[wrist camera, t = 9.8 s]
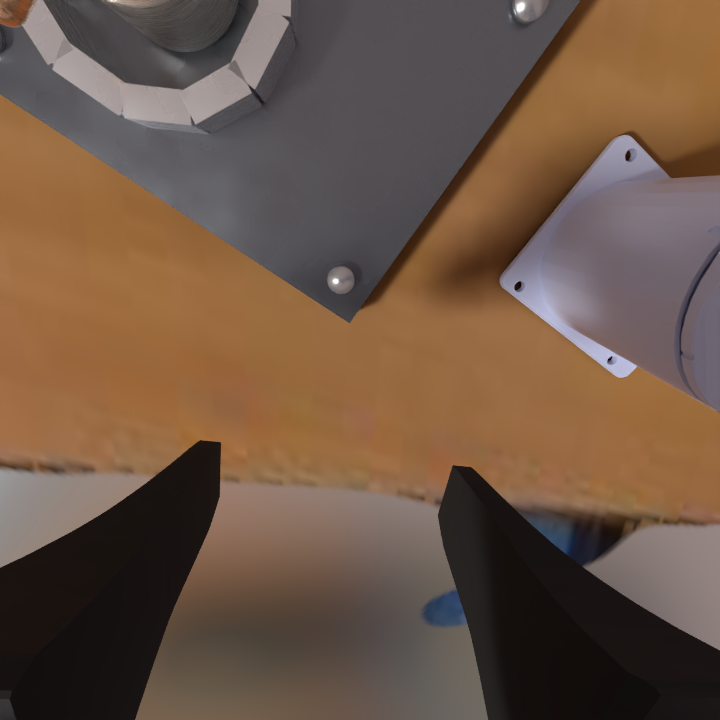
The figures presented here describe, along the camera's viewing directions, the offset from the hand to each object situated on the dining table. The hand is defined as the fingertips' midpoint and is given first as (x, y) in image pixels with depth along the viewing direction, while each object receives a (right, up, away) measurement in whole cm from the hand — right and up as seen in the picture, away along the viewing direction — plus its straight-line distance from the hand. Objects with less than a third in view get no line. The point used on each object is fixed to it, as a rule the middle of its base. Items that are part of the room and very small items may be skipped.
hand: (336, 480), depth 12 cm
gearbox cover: (-3, +16, +3) cm, 17 cm away
